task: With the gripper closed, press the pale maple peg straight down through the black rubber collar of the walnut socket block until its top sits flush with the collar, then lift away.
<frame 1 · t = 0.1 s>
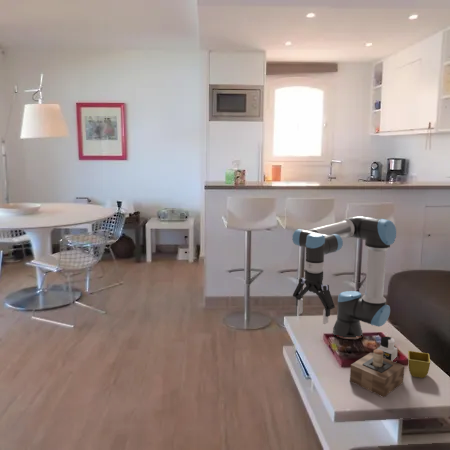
hand: (312, 318, 195), 28 cm above the table, fingers open, 13 cm apart
peg: (377, 360, 195), point 10 cm above the table, slide at 6.0 cm
flower pot: (417, 375, 203), on the table
medicine bottle: (386, 362, 214), on the table
socket block: (376, 382, 197), on the table
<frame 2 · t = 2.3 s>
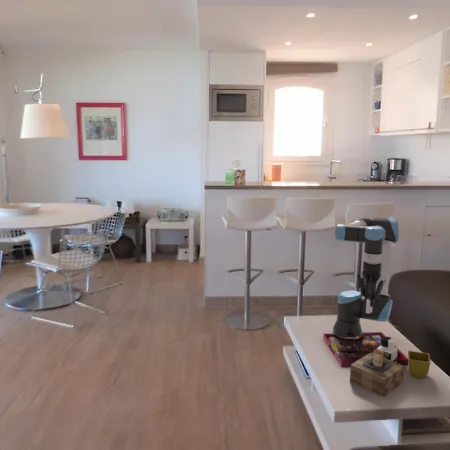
hand: (368, 312, 205), 26 cm above the table, fingers closed
nothing on the table moved.
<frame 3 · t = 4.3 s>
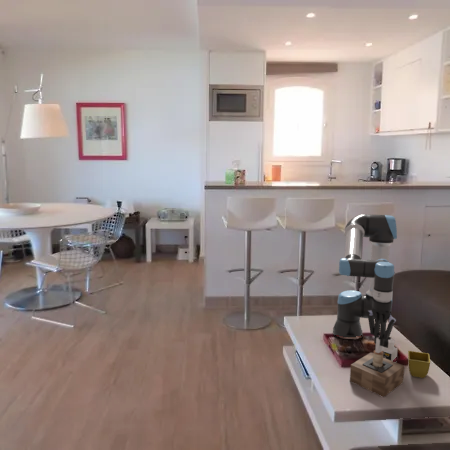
hand: (378, 351, 194), 14 cm above the table, fingers closed
peg: (377, 360, 195), point 10 cm above the table, slide at 5.8 cm, touching gripper
everything else where it was.
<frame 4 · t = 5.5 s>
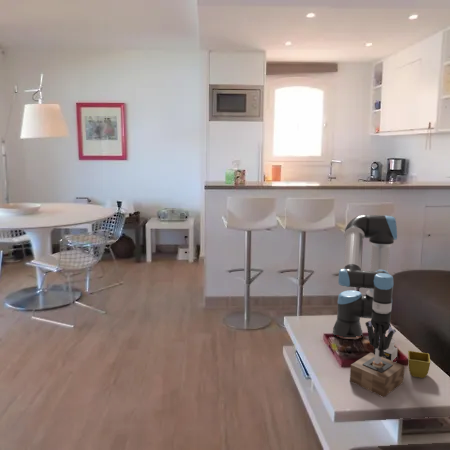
hand: (377, 362, 195), 9 cm above the table, fingers closed
peg: (377, 371, 196), point 5 cm above the table, slide at 0.8 cm, touching gripper
everything else where it was.
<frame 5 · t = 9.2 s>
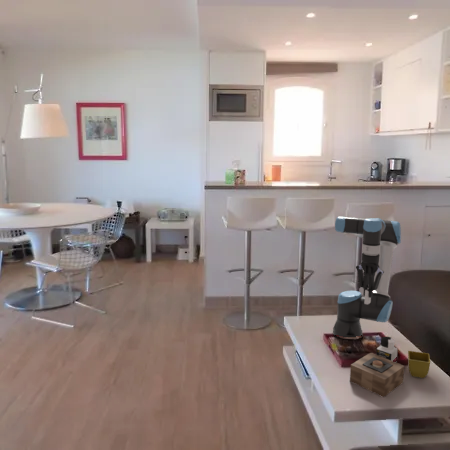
hand: (367, 303, 207), 29 cm above the table, fingers closed
peg: (377, 371, 196), point 5 cm above the table, slide at 0.8 cm
everything else where it was.
at the end: peg slide at 0.8 cm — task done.
